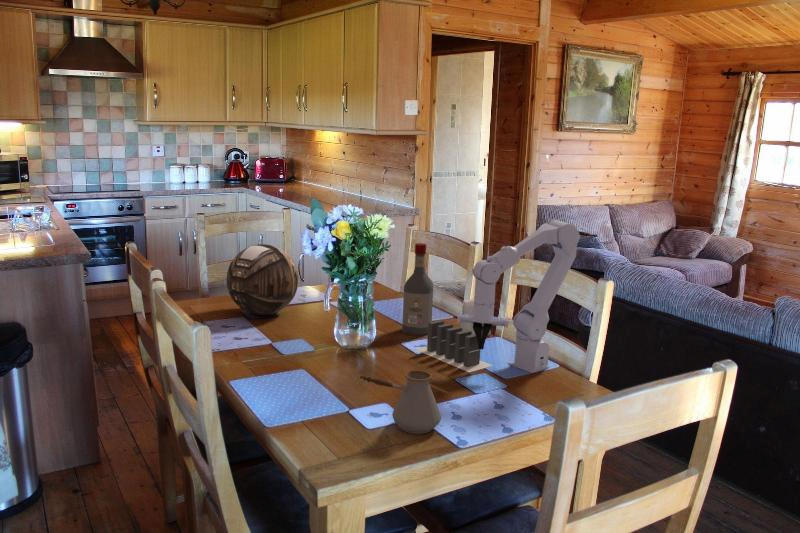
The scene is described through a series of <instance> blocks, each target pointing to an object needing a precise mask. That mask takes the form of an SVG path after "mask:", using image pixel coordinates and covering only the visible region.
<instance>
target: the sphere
mask: <svg viewBox="0 0 800 533" xmlns="http://www.w3.org/2000/svg"><path fill="white" fill-rule="evenodd" d="M298 271H299V270H298V268H297V266H296V263H295V261H294V260H293V258H292V257H291V256H290V255H289V253H287V252H286V251H285V250H283V249H281V248H280V247H277V246H274V245H271V244H264V243H263V244H262V243H261V244H255V245H251V246H248V247H246V248H244V249H243V250H241V251H240V252H238V253H237V254H236V256H235V257H233V259H232V261H231V262H230V264H229V266H228V269H227V272H226V287H227V291H228V293H229V296H230V298H231V300H232V301H233V302H234V304H236V305H237V306H238V307H239V308H240V309H241V310H243V311H245V312H246V313H249V314H252V315H255V316H268V315H273V314H275V313H277V312H280V311H282V310H283V309H285V308H286V307H287V306H288V305H289V304H290V303H291V302H292V301H293V299H294V298H295V296H296V294H297V291H298V288H299V283H300V282H299V278H300V277H299V272H298Z"/></svg>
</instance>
